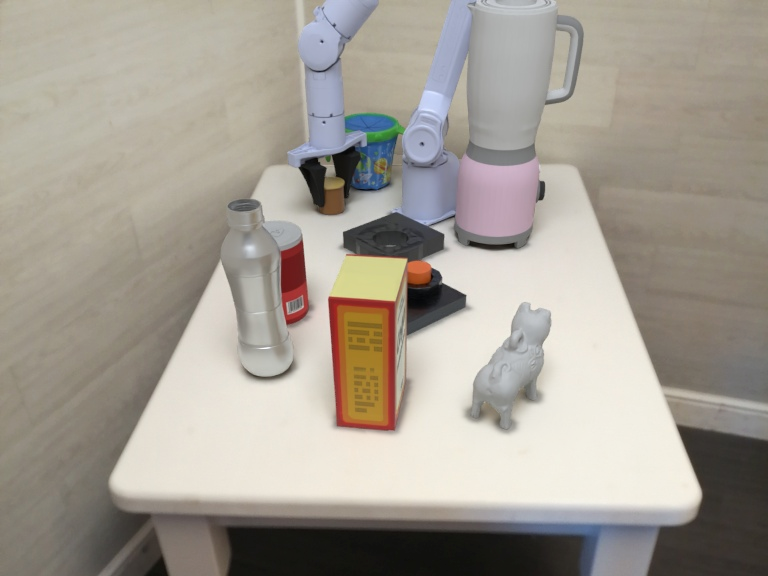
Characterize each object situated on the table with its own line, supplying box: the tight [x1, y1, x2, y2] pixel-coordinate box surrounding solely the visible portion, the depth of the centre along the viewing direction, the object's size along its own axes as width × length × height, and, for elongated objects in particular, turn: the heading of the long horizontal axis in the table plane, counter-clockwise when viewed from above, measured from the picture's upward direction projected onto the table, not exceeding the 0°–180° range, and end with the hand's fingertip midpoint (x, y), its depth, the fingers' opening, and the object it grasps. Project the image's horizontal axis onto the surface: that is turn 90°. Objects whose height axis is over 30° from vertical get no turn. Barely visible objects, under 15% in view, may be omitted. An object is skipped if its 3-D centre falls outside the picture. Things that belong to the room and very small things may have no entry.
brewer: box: [407, 266, 467, 337], centre depth 98 cm, size 11×10×4 cm
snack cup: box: [324, 112, 406, 191], centre depth 126 cm, size 16×10×10 cm
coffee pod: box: [318, 176, 346, 216], centre depth 120 cm, size 5×5×4 cm
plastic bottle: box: [219, 197, 295, 378], centre depth 82 cm, size 6×7×20 cm
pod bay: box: [342, 212, 445, 263], centre depth 110 cm, size 12×12×2 cm
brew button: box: [407, 260, 432, 284], centre depth 97 cm, size 4×4×2 cm
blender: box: [453, 0, 585, 249], centre depth 103 cm, size 16×12×32 cm
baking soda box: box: [327, 253, 408, 432], centre depth 78 cm, size 10×6×16 cm
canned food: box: [263, 220, 310, 326], centre depth 94 cm, size 8×8×11 cm
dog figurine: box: [470, 301, 552, 430], centre depth 80 cm, size 5×13×11 cm, turn 148°
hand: (331, 200), depth 121 cm, fingers closed on coffee pod, 4 cm apart
